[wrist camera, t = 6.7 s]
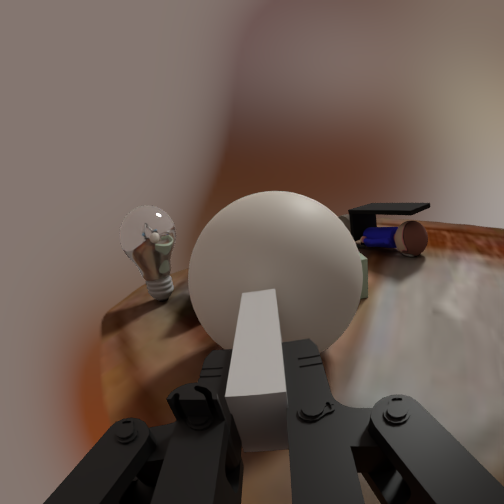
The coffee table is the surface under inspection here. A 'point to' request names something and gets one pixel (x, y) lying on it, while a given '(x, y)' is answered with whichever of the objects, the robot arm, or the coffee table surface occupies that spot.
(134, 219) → the light bulb
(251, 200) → the ball
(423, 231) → the figurine character
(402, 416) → the robot arm
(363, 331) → the coffee table surface
